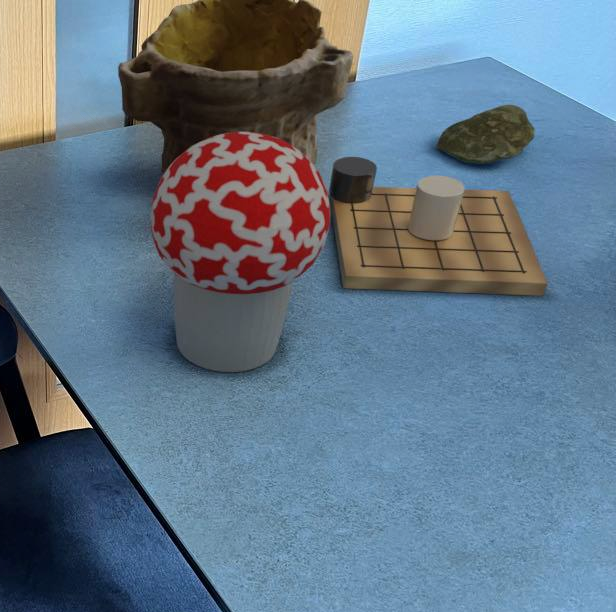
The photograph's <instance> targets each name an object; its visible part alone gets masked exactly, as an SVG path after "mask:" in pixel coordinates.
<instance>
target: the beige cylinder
mask: <svg viewBox="0 0 616 612" xmlns="http://www.w3.org/2000/svg"><path fill="white" fill-rule="evenodd" d="M416 183H417V184H416V187H415V188H416V192H415V196H414V201H413V205H412V209H411V214H410V218H409V223H408V230H409V232H410V233H411V234H413V235H414V236H416V237H419V238H422V239H426V240H444V239H447V238H449V237H451V236H452V234H453V232H454V228H455V225H456V221H457V217H458V213H459V209H460V206H461V202H462V198H463V194H464V190H466V187H465V185H464V184H463V182H461V181H460V180H458V179H456V178H453V177H450V176H446V175H427V176H424V177H421V178H419V180H418V181H417V182H416Z"/></svg>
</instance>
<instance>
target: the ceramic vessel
mask: <svg viewBox="0 0 616 612" xmlns="http://www.w3.org/2000/svg"><path fill="white" fill-rule="evenodd" d="M322 13H323V11H322V10H320V8H319V7H318V6H316V5H315V4H313V3H312V2H311V1H309V0H298V1H294V0H196V1H193V2H192V3H183V4H179V5H176V6H174V7H173V8H172V9H171V10H170V13H169V14H168V16H167V17H164V18H163V20H162V21H161V23H159V25H158V27H157V29H156V30H154V32H152V33H151V35H149V36H148V37H147V38H145V40H144V41H143V42H142V44H141V47H140V49H141V50H140V51H139V52H138V53H137V56H135V57H133V58H131V59H128V60H127V61H123V62H119V65H118V67H117V76H118V79H119V83H120V87H121V108H122V112H123V114H124V115H125V116H127V118H131V119H132V120H134V121H137V122H150V123H152V124H153V125H154V126H155V127H157V128H158V129H160V131H161V134H162V137H163V146H162V154H161V169H160V170H161V171H160V172H161V174H162V175H163V174H164V173H165V172H166V170H167V169H168V168H169V166H170V165H171V164H172V163H173V162H174V160H175V159H176V158H178V157H179V156H180V155H181V154H182V153H183V152H185V151H186V150H187V149H189V148H190V147H192V146H193V145H195V144H197V143H199V142H201V141H203V140H205V139H207V138H210V137H212V136H216V135H220V134H225V133H232V132H256V133H261V134H265V135H269V136H273V137H276V138H279V139H281V140H283V141H285V142H287V143H289V144H290V145H292V146H293V147H295V148H296V149H298V150H299V151H300V152H302V153H303V154H304V155H305V156H306V157H307V158H308V159H309V160H310V161H311V163H312V164H313V165H314V166H315V165H316V163H317V158H318V147H319V146H318V141H317V140H318V139H317V122H318V114H321V113H323V112H325V111H327V110H330V109H333V108H335V107H336V106H337V105H339V104H340V103H341V102H342V101H343V100H344V99H345V97H346V96H345V95H346V92H347V86H348V82H349V81H348V80H349V78H350V73H351V70H352V66H353V61H354V54H353V52H352V51H351V50H348V49H342V48H339V47H338V46H336V45H334V44H331V42H330V40H329V39H328V38H326V31H325V29H324V27H323V26H321V19H322Z"/></svg>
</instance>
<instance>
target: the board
mask: <svg viewBox="0 0 616 612" xmlns="http://www.w3.org/2000/svg"><path fill="white" fill-rule="evenodd" d="M415 192H416V187H394V186H393V187H391V186H390V187H389V186H373V191H372V196H371V197H370V198H369V199H368V200H366V201H363V202H358V203H349V202H343V201H339V200H337V199H335V198H333V197H332V196H331V195H330V194H328V198H329V203H330V214H331V218H332V225H333V230H334V231H333V233H334V239H335V244H336V250H337V257H338V263H339V264H338V265H339V270H340V275H341V282H342V289H350V290H353V289H354V290H379V291H401V292H402V291H403V292H428V293H429V292H430V293H431V292H433V293H458V294H486V295H506V296H507V295H508V296H509V295H511V296H536V297H543V296H544V295H545V291H546V289H547V286H548V281H547V279H546V276H545V274H544V271H543V269H542V267H541V264H540V261H539V259H538V257H537V254H536V253H535V250H534V248H533V245H532V243H531V240H530V238H529V236H528V234H527V233H528V232H527V231H526V229H525V227H524V224H523V222H522V219H521V217H520V215H519V212H518V210H517V207H516V205H515V203H514V200H513V198H512V196H511V193H510V191H509V190H496V189H495V190H493V189H492V190H491V189H490V190H489V189H486V190H485V189H465V190H464V194H463V198H462V202H461V206H460V209H459V213H458V217H457V221H456V225H455V228H454V232H453V234H452V236H451V237H449V238H447V239H444V240H426V239H422V238H419V237H416V236H414V235H413V234H411V233H410V232H409V230H408V223H409V218H410V214H411V209H412V205H413V201H414V196H415Z"/></svg>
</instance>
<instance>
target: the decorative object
mask: <svg viewBox="0 0 616 612" xmlns="http://www.w3.org/2000/svg"><path fill="white" fill-rule="evenodd" d="M149 213H150V214H149V215H150V218H149V219H150V233H151V237H152V241H153V243H154V246H155V249H156V251H157V253H158V257H159V258H160V259H161V260H162V261H163V262H164V264H165V265H166V266H167V267H168V268H169V269H170V271H171V272H172V273H173V274H174V275H173V312H174V313H173V314H174V315H173V316H174V317H173V319H174V328H175V336H176V345H177V348H178V351H179V352H180V353H181V355H182V356H183V357H184V358H185V359H186V360H187V361H189V362H190V363H192V364H194V365H195V366H197V367H200V368H202V369H205V370H210V371H214V372H219V373H220V372H221V373H241V372H247V371H252V370H254V369H257V368H259V367H262V366H263V365H265V364H266V363H268V362H269V361H270V360H271V359H272V358H273V357H274V355H275V353H276V351H277V348H278V345H279V342H280V338H281V335H282V332H283V328H284V325H285V321H286V316H287V312H288V309H289V305H290V299H291V295H292V290H293V282H294V281H296V280H297V279H298V278H299V277H301V276H302V275H303V274H304V273H306V272H307V271H308V270H309V269H310V268H311V267H312V266H313V265H314V264H315V262H316V260H317V259H318V256H319V255H320V254H321V252H322V250H323V248H324V246H325V245H326V242H327V237H328V234H329V231H330V224H331V206H330V200H329V192H328V189H327V186H326V184H325V181H324V180H323V178H322V176H321V174H320V172H319V170H318V169H317V167H316V166H315V165H313V164H312V163H311V161H310V160H309V159H308V158H307V157H306V156H305V155H304V154H303V153H302V152H300V151H299V150H298V149H296V148H295V147H293V146H292V145H290V144H289V143H287V142H285V141H283V140H281V139H279V138H276V137H273V136H269V135H265V134H261V133H256V132H232V133H225V134H220V135H216V136H212V137H210V138H207V139H205V140H203V141H201V142H199V143H197V144H195V145H193V146H192V147H190V148H189V149H187V150H186V151H185V152H183V153H182V154H181V155H180V156H179V157H178V158H176V159H175V160H174V162H173V163H172V164H171V165H170V166H169V168H168V169H167V170H166V172H165V173H164V174H162V176H161V177H160V180H159V182H158V185H157V187H156V189H155V192H154V193H153V196H152V201H151V207H150V212H149Z"/></svg>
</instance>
